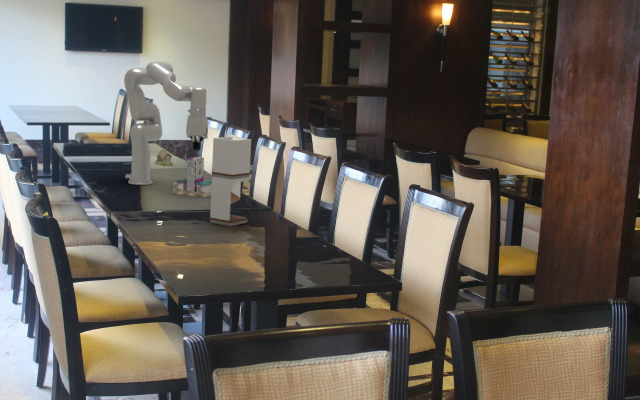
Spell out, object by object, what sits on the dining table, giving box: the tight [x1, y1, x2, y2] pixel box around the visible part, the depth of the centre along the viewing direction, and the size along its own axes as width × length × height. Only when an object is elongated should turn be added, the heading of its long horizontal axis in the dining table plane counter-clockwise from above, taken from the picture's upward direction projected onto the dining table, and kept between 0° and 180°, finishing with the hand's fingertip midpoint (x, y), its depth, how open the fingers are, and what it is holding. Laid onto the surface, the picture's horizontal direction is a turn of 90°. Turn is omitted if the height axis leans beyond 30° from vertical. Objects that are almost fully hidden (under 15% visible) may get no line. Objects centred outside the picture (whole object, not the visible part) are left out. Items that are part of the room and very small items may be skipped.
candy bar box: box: [186, 156, 205, 192], centre depth 398 cm, size 11×5×16 cm, turn 167°
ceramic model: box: [154, 148, 174, 167], centre depth 504 cm, size 14×11×10 cm
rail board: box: [171, 177, 212, 199], centre depth 399 cm, size 18×14×6 cm
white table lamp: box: [209, 136, 252, 227], centre depth 331 cm, size 11×11×35 cm
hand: (196, 149), depth 396 cm, fingers closed
